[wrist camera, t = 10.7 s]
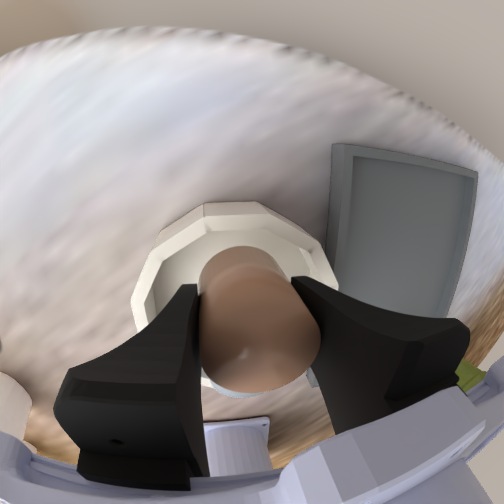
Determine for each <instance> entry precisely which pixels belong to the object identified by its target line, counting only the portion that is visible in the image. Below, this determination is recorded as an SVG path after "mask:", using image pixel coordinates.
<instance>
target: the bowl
mask: <svg viewBox="0 0 504 504" xmlns="http://www.w3.org/2000/svg"><path fill="white" fill-rule="evenodd" d="M235 246H251V247H256V248H259V249H261V250H264V251H265V252H267V253H268V254H270V255H271V256H272V257H273V258H274V259H275V260H276V262H277V263H278V265H279V266H280V268H281V269H282V271H283V272H284V274H285V275H286V277H287V278H288V280H289V281H290V283H291V277H294V276H308V277H310V278H313V279H315V280H317V281H319V282H321V283H323V284H325V285H327V286H329V287H331V288H333V289H335V290H337V291H338V287H339V285H338V282H337V280H336V278H335V276H334V273H333V271H332V269H331V267H330V264H329V262H328V260H327V258H326V256H325V253H324V251H323V249H322V247H321V245H320V243H319V242H318V241H317V240H316V239H315V238H313V237H312V236H311V235H310V234H308V233H307V232H306V231H305V230H303V229H302V228H301V227H300V226H298V225H297V224H295V223H294V222H292V221H290V220H288V219H287V218H285V217H283V216H281V215H280V214H278V213H276V212H274V211H273V210H271V209H269V208H267V207H266V206H264V205H262V204H260V203H258V202H256V201H249V202H219V203H204V204H201V205H200V206H198V207H197V208H195V209H194V210H192V211H190V212H189V213H187V214H186V215H184V216H183V217H181V218H180V219H178V220H177V221H175V222H174V223H172V224H171V225H169V226H168V227H166V228H165V229H163V230H162V231H160V233H159V235H158V237H157V239H156V241H155V243H154V245H153V247H152V249H151V252H150V254H149V256H148V258H147V261H146V263H145V265H144V268H143V270H142V272H141V275H140V277H139V280H138V282H137V285H136V287H135V290H134V292H133V295H132V297H131V300H130V302H131V307H132V311H133V315H134V319H135V323H136V327H137V331H138V333H139V332H140V331H141V330H142V329H144V328H145V327H146V326H147V325H148V324H149V323H150V322H151V321H152V320H153V319H154V318H155V317H156V316H157V315H158V314H159V313H160V312H161V311H162V310H163V308H164V307H165V306H166V305H167V303H168V302H169V301H170V300H171V298H172V297H173V296H174V294H175V293H176V291H177V290H178V289H179V287H180V286H181V285H182V284H196V283H197V286H198V282H199V277H200V274H201V271H202V269H203V268H204V266H205V264H206V263H207V262H208V261H209V260H210V259H211V258H212V257H213V256H214V255H216V254H217V253H219V252H221V251H223V250H225V249H228V248H231V247H235ZM201 385H204V386H207V387H211V388H214V387H213V386H212V384H211V382H210V378H209V377H208V376H207V375H206V373H205V372H204V370H203V368H202V371H201ZM214 389H215V388H214Z"/></svg>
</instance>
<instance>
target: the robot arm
mask: <svg viewBox="0 0 504 504" xmlns="http://www.w3.org/2000/svg"><path fill="white" fill-rule="evenodd" d="M291 284H292V286H293V287H294V289H295V290H296V292H297V293H298V295H299V296H300V298H301V299H302V301H303V302H304V304H305V306H306V307H307V309H308V310H309V312H310V313H311V315H312V316H313V318H314V319H315V321H316V322H317V324H318V327H319V329H320V334H321V343H320V348H319V351H318V354H317V356H316V358H315V360H314V361H313V363H312V364H311V365H310V367H311V369H312V371H313V373H314V375H315V377H316V379H317V382H318V384H319V387H320V389H321V392H322V395H323V397H324V400H325V403H326V406H327V409H328V412H329V415H330V418H331V421H332V425H333V428H334V431H335V436H333V437H330V438H328V439H325V440H323V441H320V442H318V443H316V444H314V445H313V446H311V447H309V448H308V449H306V450H304V451H302V452H301V453H299V454H297V455H295V457H294V458H293V459H292V460H291V461H290V462H289V463H288V464H287V465H286V467H284V468H279V469H274V470H273V466H272V463H271V459H270V456H269V452H268V448H267V443H268V435H269V426H270V419H269V418H268V417H259V418H252V419H244V420H235V421H225V422H212V423H203V415H202V404H201V371H202V366H201V362H200V351H199V316H198V312H199V303H198V286H197V283H196V284H182V285H181V286H180V287H179V289H178V290H177V291H176V293H175V294H174V296H173V297H172V298H171V300H170V301H169V302H168V303H167V305H166V306H165V307H164V308H163V310H162V311H161V312H160V313H159V314H158V315H157V316H156V317H155V318H154V319H153V320H152V321H151V322H150V323H149V324H148V325H147V326H146V327H145V328H144V329H142V330H141V331H140V332H139V333H137V334H136V335H135V336H133V337H132V338H130V339H129V340H127V341H126V342H125V343H123V344H122V345H120V346H118V347H117V348H115V349H113V350H111V351H110V352H108V353H106V354H104V355H102V356H100V357H98V358H96V359H93V360H91V361H88V362H86V363H83V364H81V365H78V366H76V367H73V368H70V369H69V370H68V372H67V374H66V376H65V378H64V380H63V383H62V385H61V388H60V390H59V393H58V395H57V398H56V401H55V403H54V407H53V411H54V415H55V417H56V419H57V421H58V422H59V424H60V426H61V427H62V428H63V429H64V431H65V432H66V433H67V434H68V435H69V437H70V438H71V439H72V440H73V441H74V442H75V444H76V445H77V446H78V447H79V448H80V454H79V459H78V464H77V465H73V464H69V463H65V462H61V461H57V460H54V459H51V458H47V457H44V456H41V455H38V454H35V453H32V451H31V450H30V449H29V448H28V447H27V446H26V445H25V444H24V443H23V442H22V441H21V440H19V439H18V438H16V437H14V436H12V435H10V434H7V433H5V432H3V431H0V502H1V503H3V504H493V503H492V501H491V499H490V498H489V496H488V495H487V493H486V492H485V490H484V489H483V487H482V486H481V484H480V483H479V481H478V480H477V478H476V477H475V475H474V474H473V473H472V471H471V469H470V468H469V467H468V465H467V464H466V463H467V462H468V461H469V460H470V459H472V458H473V457H474V456H475V455H476V454H477V453H478V452H480V450H482V449H483V448H484V447H485V446H486V445H487V444H488V443H489V442H490V441H491V440H492V439H493V438H494V437H495V436H496V435H497V434H498V433H499V432H500V431H501V430H502V429H503V428H504V356H502V357H501V358H500V359H499V360H497V361H496V362H495V363H494V364H493V365H492V366H491V367H490V368H489V370H488V371H487V373H486V375H485V377H484V380H482V381H481V382H479V383H478V384H477V385H475V386H474V387H472V388H471V389H470V390H468V391H467V392H464V391H463V390H462V389H461V388H460V387H459V385H458V384H457V382H458V381H459V380H460V379H459V376H458V375H457V374H456V373H455V371H456V369H457V368H458V366H459V364H460V362H461V360H462V358H463V356H464V354H465V352H466V350H467V348H468V346H469V342H470V330H469V328H468V327H467V326H465V325H464V324H463V323H462V322H461V321H459V320H458V319H456V318H431V317H422V316H414V315H408V314H403V313H399V312H394V311H390V310H386V309H383V308H379V307H376V306H373V305H370V304H367V303H365V302H362V301H359V300H357V299H355V298H352V297H350V296H348V295H346V294H343V293H341V292H339V291H337V290H335V289H333V288H331V287H329V286H327V285H325V284H323V283H321V282H319V281H317V280H315V279H313V278H310V277H308V276H294V277H291Z"/></svg>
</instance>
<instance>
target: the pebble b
mask: <svg viewBox="0 0 504 504" xmlns="http://www.w3.org/2000/svg"><path fill="white" fill-rule="evenodd" d="M198 303H199V312H198V316H199V351H200V362H201V366H202V368H203V370H204V372H205V373H206V375H207V376H208V377H209V378H210V379H211V380H212V381H213V382H214V383H216V384H217V385H219V386H221V387H223V388H225V389H228V390H231V391H235V392H240V393H260V392H266V391H270V390H274V389H277V388H280V387H282V386H284V385H286V384H288V383H290V382H292V381H294V380H295V379H296V378H298V377H299V376H300V375H302V374H303V373H304V372H305V371H306V370H307V369H308V368H309V367H310V365H311V364H312V363H313V361H314V360H315V358H316V356H317V354H318V351H319V348H320V343H321V334H320V329H319V327H318V324H317V322H316V321H315V319H314V318H313V316H312V315H311V313H310V312H309V310H308V309H307V307H306V306H305V304H304V302H303V301H302V299H301V298H300V296H299V295H298V293H297V292H296V290H295V289H294V287H293V286H292V284H291V283H290V281H289V280H288V278H287V277H286V275H285V274H284V272H283V271H282V269H281V268H280V266H279V265H278V263H277V262H276V260H275V259H274V258H273V257H272V256H271V255H270V254H268V253H267V252H265V251H264V250H261V249H259V248H256V247H251V246H235V247H231V248H228V249H225V250H223V251H221V252H219V253H217V254H216V255H214V256H213V257H212V258H211V259H210V260H209V261H208V262H207V263H206V264H205V266H204V268H203V269H202V271H201V274H200V277H199V282H198Z"/></svg>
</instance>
